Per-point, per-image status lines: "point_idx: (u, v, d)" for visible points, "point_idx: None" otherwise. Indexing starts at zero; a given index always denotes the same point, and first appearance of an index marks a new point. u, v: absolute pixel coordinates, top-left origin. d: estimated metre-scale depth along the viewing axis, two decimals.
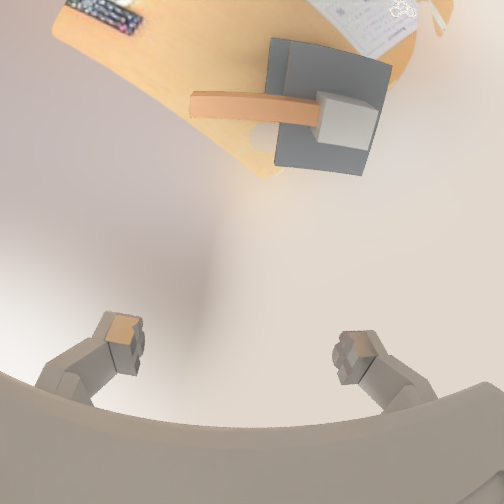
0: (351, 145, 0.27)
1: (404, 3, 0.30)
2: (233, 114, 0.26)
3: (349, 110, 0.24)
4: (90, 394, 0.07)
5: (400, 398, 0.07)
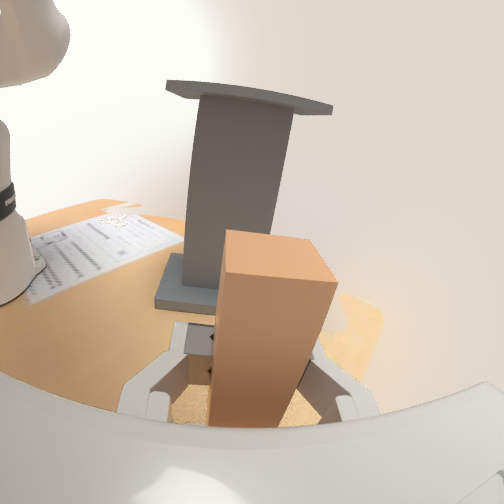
0: None
1: (111, 218, 0.53)
2: None
3: None
4: None
5: (332, 409, 0.07)
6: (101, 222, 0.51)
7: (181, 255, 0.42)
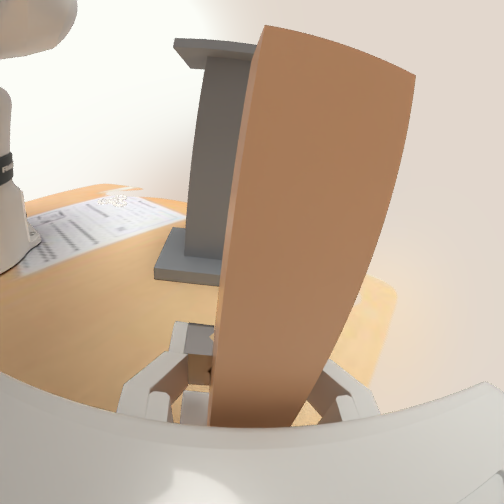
0: None
1: (110, 199, 0.51)
2: None
3: None
4: None
5: (332, 409, 0.07)
6: (100, 202, 0.49)
7: (183, 229, 0.40)
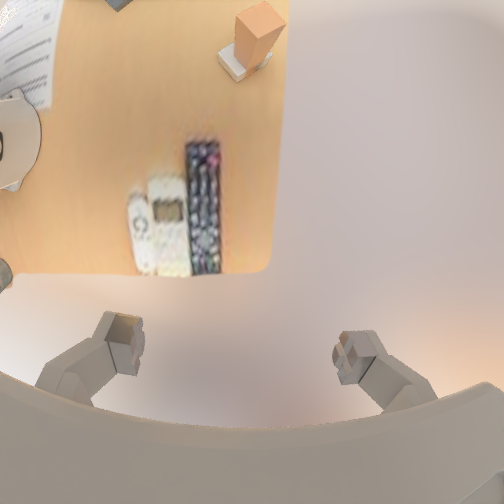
0: None
1: (0, 21, 0.16)
2: None
3: None
4: (90, 394, 0.07)
5: (400, 398, 0.07)
6: None
7: None
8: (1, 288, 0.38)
